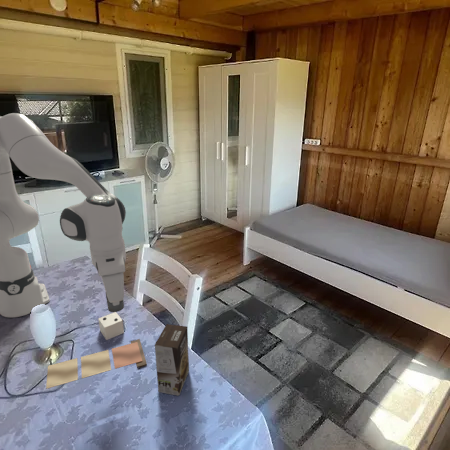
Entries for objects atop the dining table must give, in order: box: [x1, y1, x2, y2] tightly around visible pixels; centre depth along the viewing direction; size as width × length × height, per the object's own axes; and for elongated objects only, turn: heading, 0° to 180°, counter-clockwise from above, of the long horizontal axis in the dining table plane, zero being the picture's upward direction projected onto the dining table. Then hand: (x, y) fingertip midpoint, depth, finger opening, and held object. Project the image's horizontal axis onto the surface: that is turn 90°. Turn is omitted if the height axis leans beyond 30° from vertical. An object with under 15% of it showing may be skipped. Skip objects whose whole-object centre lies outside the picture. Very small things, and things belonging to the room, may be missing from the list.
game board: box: [45, 338, 148, 390], centre depth 98 cm, size 12×28×1 cm, turn 114°
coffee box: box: [154, 323, 190, 397], centre depth 90 cm, size 9×6×16 cm
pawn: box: [105, 293, 125, 313], centre depth 93 cm, size 4×4×8 cm
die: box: [98, 312, 125, 341], centre depth 110 cm, size 6×6×6 cm
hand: (114, 298), depth 93 cm, fingers closed on pawn, 4 cm apart
